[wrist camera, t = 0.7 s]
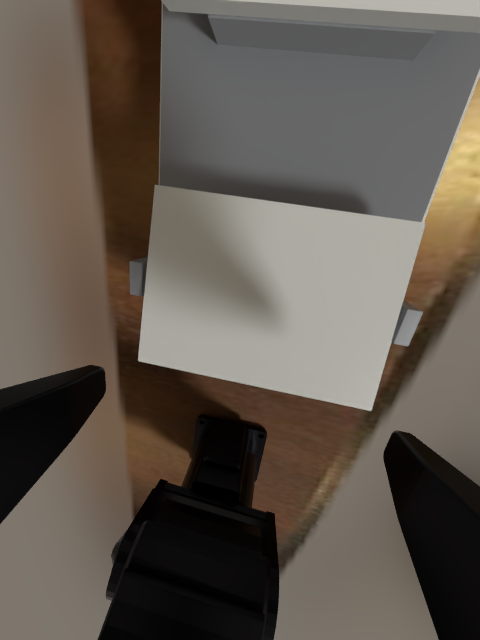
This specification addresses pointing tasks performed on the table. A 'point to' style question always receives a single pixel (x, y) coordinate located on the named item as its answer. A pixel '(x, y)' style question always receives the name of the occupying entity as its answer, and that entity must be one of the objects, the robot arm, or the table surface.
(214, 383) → the table surface
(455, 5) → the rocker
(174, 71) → the box
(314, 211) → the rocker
